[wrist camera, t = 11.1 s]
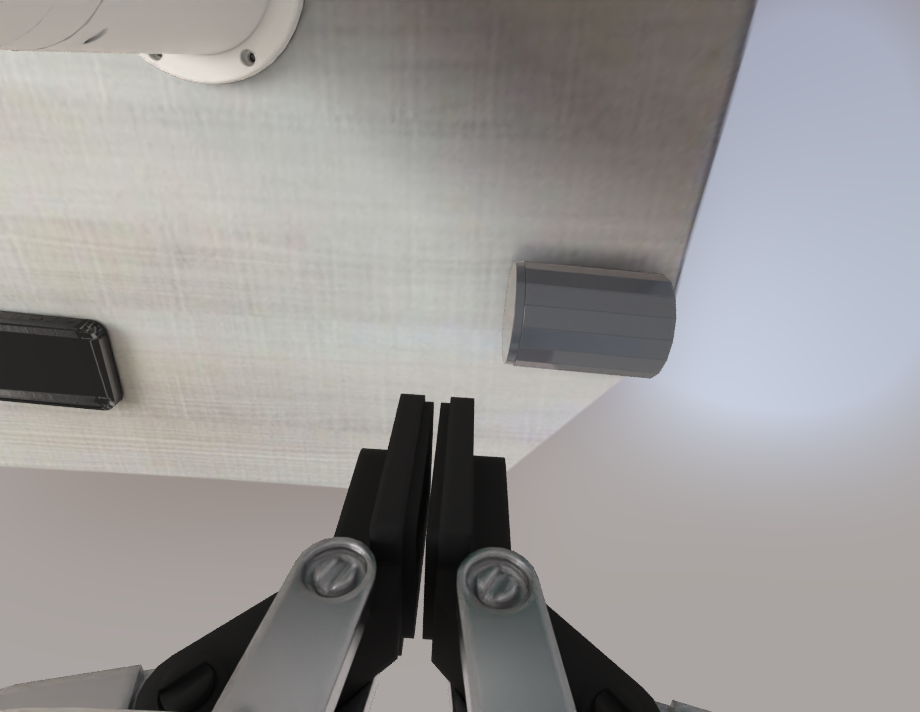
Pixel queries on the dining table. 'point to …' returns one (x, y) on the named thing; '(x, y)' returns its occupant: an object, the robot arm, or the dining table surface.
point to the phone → (56, 362)
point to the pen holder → (588, 319)
